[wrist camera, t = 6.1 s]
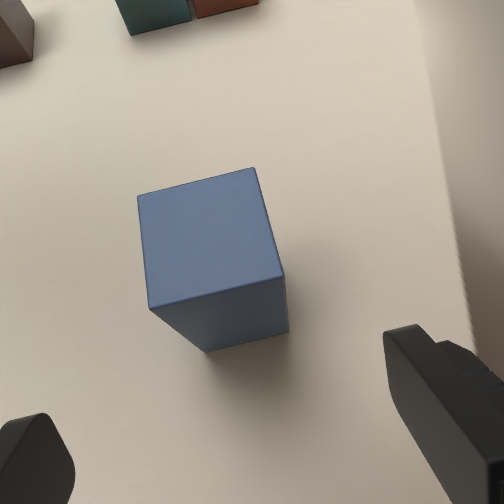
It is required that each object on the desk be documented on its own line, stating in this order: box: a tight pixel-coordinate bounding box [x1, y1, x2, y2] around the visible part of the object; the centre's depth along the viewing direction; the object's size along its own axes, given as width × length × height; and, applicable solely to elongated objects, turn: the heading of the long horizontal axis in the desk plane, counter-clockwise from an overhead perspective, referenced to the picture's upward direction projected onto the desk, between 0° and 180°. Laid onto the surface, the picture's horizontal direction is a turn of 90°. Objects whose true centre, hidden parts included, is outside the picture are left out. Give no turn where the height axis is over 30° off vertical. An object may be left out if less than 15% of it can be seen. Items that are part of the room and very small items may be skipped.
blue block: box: [137, 167, 289, 352], centre depth 17 cm, size 4×4×8 cm
